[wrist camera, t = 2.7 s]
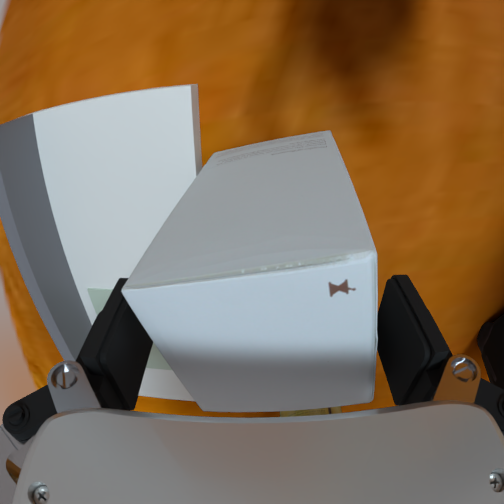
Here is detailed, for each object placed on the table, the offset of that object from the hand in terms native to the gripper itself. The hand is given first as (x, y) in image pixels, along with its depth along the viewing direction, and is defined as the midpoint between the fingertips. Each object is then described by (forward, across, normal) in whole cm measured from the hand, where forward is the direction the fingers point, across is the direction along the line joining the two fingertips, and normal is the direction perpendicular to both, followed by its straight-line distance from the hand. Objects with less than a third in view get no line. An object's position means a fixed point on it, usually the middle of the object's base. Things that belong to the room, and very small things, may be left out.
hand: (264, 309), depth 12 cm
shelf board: (+11, +10, +6) cm, 16 cm away
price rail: (+9, +15, +6) cm, 18 cm away
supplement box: (+10, -2, 0) cm, 10 cm away
